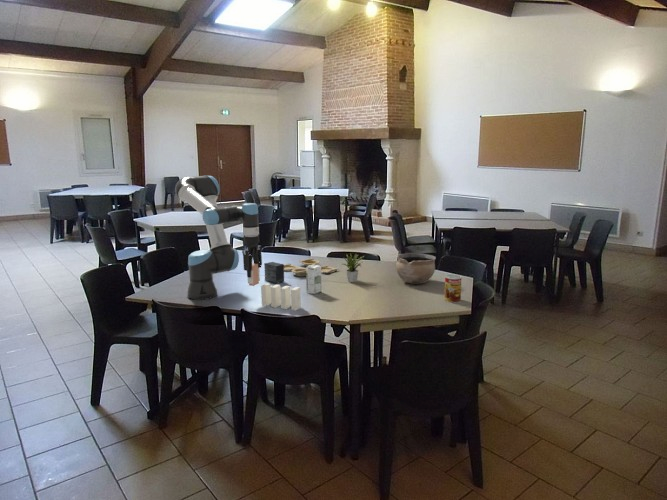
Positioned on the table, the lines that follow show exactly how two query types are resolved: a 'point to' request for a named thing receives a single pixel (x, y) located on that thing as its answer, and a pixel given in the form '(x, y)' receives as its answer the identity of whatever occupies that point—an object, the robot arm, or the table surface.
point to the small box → (274, 272)
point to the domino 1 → (255, 274)
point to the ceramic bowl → (415, 267)
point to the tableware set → (302, 271)
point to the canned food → (452, 288)
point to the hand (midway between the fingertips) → (253, 281)
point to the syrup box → (313, 279)
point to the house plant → (352, 268)
